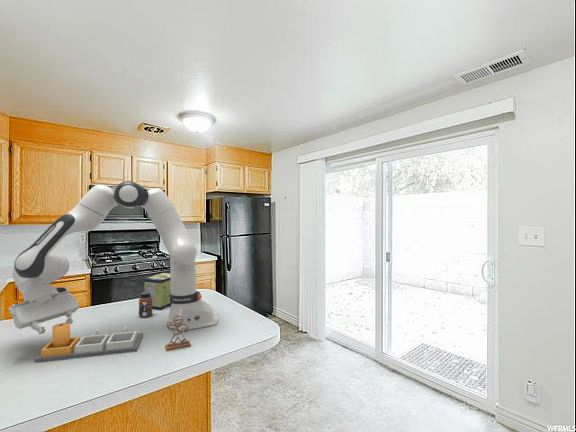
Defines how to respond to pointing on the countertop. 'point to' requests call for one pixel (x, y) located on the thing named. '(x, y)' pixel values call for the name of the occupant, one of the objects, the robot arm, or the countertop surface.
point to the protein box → (159, 290)
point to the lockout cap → (61, 335)
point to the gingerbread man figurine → (179, 344)
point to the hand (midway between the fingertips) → (57, 327)
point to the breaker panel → (92, 346)
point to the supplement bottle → (145, 305)
